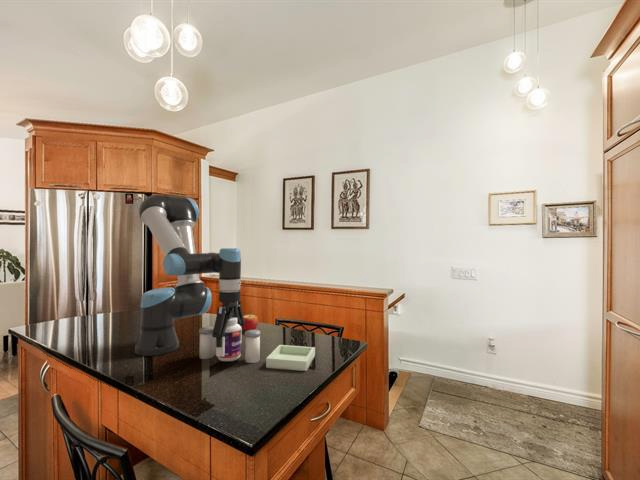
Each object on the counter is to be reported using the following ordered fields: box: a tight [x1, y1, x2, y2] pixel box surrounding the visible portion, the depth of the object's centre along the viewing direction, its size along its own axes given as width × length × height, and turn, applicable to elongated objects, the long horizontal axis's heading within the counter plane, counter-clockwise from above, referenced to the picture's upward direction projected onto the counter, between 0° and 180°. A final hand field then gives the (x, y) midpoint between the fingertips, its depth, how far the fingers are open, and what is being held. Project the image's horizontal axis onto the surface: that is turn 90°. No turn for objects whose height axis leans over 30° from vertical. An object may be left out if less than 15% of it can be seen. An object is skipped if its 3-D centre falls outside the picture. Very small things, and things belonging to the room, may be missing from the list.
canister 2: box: [244, 329, 261, 364], centre depth 110 cm, size 5×5×10 cm
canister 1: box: [198, 326, 215, 360], centre depth 113 cm, size 5×5×10 cm
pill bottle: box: [217, 317, 242, 362], centre depth 112 cm, size 8×8×14 cm
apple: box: [241, 309, 259, 333], centre depth 145 cm, size 8×8×10 cm
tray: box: [265, 344, 316, 372], centre depth 109 cm, size 14×14×3 cm
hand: (229, 349), depth 111 cm, fingers open, 12 cm apart
